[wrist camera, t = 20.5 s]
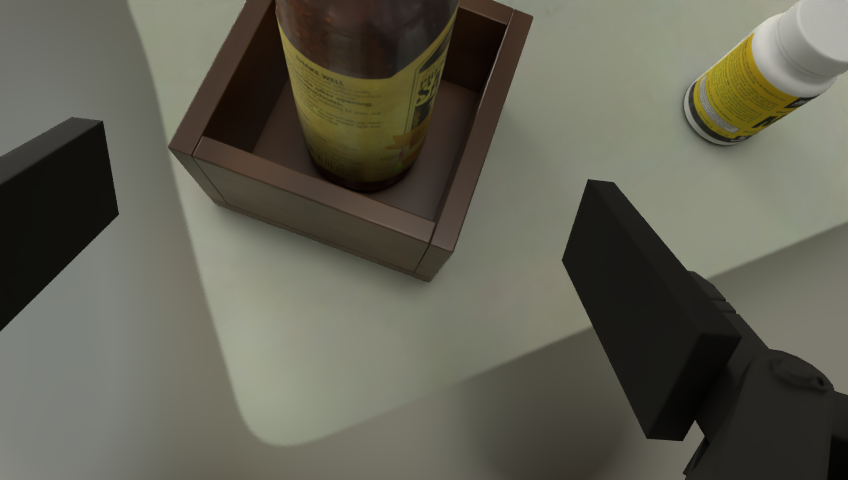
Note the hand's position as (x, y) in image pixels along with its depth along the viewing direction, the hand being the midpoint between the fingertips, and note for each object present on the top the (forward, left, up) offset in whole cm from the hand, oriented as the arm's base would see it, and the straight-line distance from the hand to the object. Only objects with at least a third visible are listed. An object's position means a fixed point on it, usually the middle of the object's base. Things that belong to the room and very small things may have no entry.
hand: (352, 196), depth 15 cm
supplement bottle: (-17, -18, -13) cm, 28 cm away
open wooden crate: (+2, -7, -13) cm, 15 cm away
